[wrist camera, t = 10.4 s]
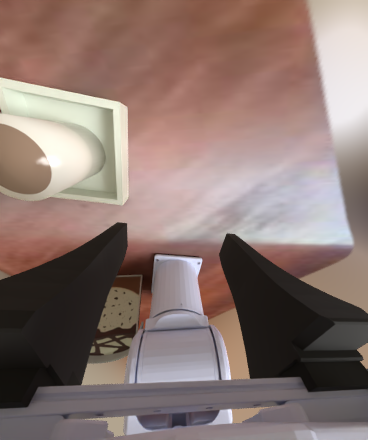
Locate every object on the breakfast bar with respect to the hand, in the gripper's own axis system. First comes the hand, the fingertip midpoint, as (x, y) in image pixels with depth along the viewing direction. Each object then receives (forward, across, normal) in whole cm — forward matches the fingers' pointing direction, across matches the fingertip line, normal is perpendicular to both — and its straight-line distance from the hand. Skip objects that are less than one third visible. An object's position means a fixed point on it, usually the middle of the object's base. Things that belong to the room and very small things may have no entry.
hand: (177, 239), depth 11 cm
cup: (+10, +11, -3) cm, 15 cm away
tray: (+10, +11, -3) cm, 15 cm away
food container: (+10, +8, +20) cm, 24 cm away
